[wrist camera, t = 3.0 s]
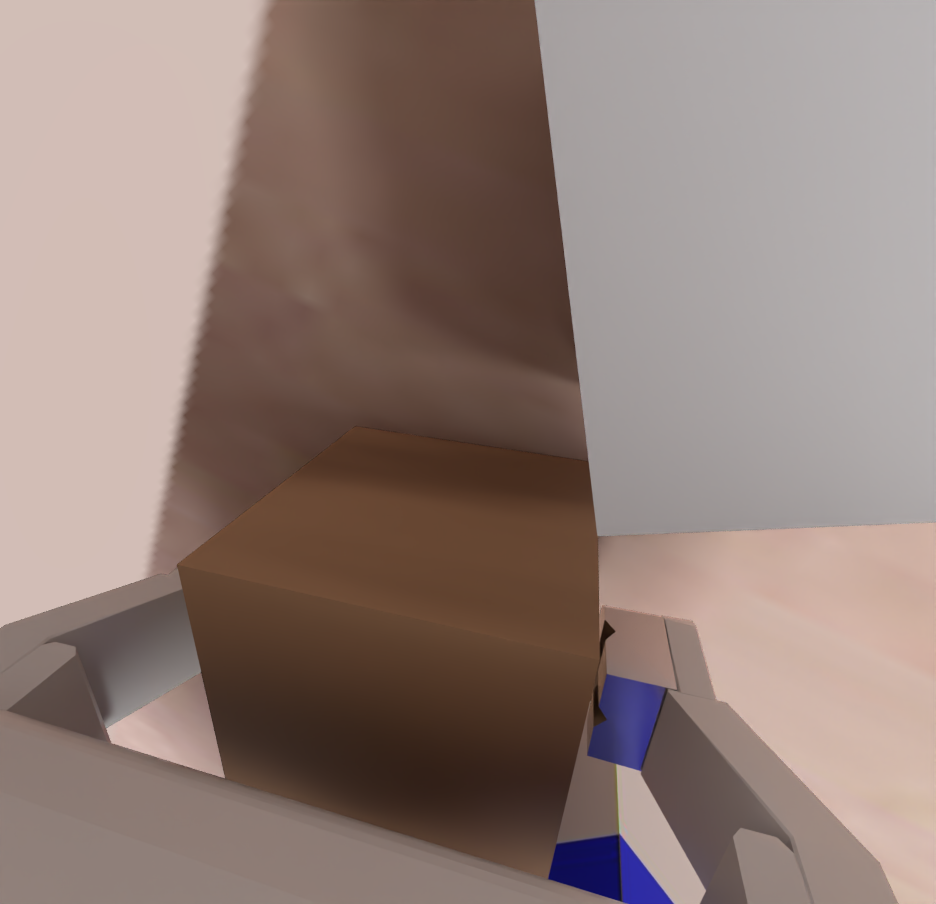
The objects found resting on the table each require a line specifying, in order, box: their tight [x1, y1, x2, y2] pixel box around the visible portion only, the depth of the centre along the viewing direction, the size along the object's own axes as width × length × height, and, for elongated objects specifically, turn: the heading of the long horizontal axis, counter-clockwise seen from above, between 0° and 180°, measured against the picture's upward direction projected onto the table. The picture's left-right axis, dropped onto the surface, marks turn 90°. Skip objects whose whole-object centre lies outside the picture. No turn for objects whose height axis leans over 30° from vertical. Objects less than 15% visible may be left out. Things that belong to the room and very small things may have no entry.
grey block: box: [535, 0, 936, 536], centre depth 5 cm, size 5×5×5 cm
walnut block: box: [177, 426, 600, 879], centre depth 9 cm, size 5×5×5 cm
